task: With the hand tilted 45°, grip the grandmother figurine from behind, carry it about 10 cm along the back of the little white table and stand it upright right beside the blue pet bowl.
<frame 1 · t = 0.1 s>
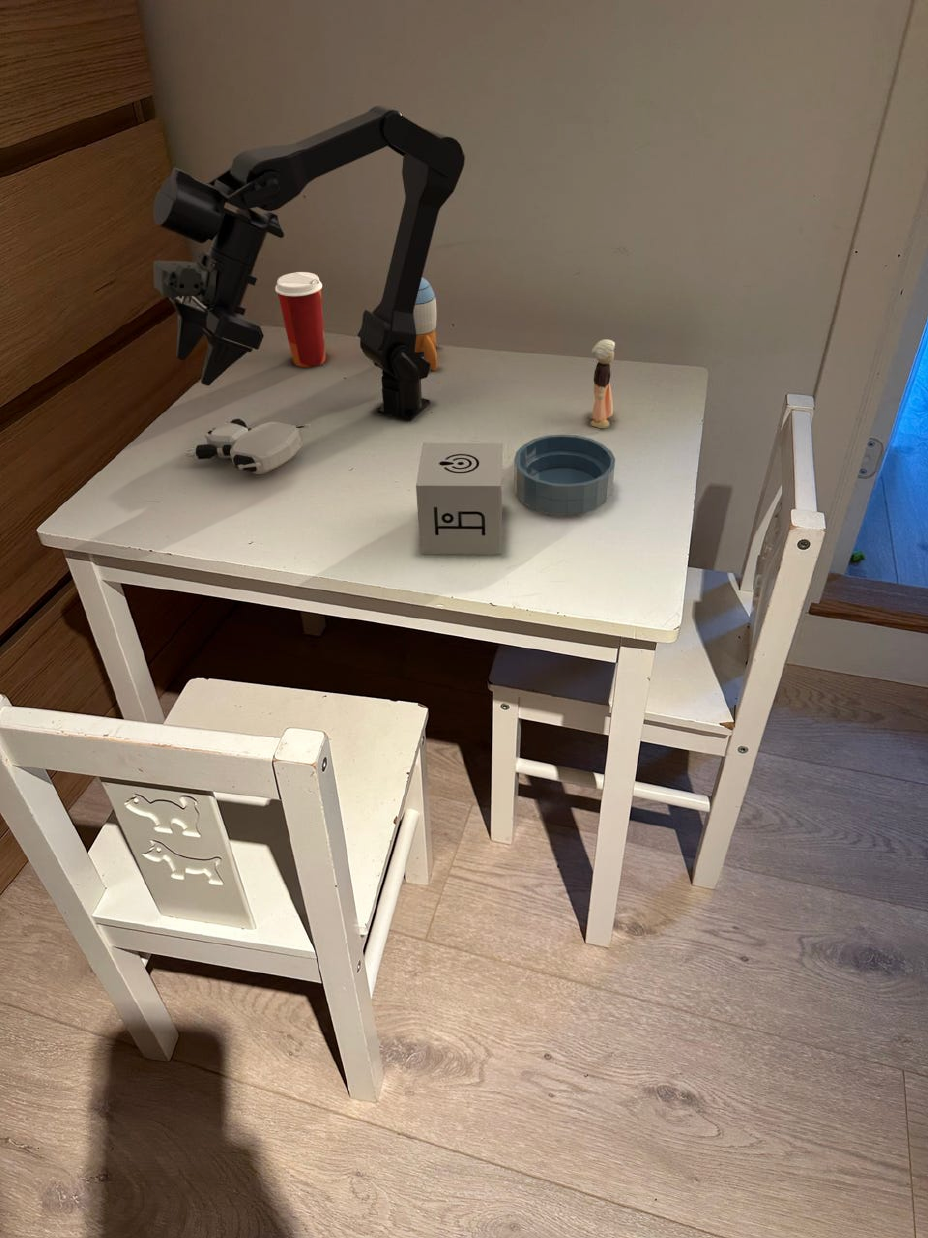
hand: (192, 371, 118), 15 cm above the table, tool tilted 35°, fingers open, 9 cm apart
icon cube: (462, 532, 115), on the table
grandmother figurine: (599, 420, 136), on the table
robot toy: (251, 460, 130), on the table
paper cup: (309, 361, 154), on the table
blue pet bowl: (562, 491, 121), on the table
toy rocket: (411, 360, 154), on the table
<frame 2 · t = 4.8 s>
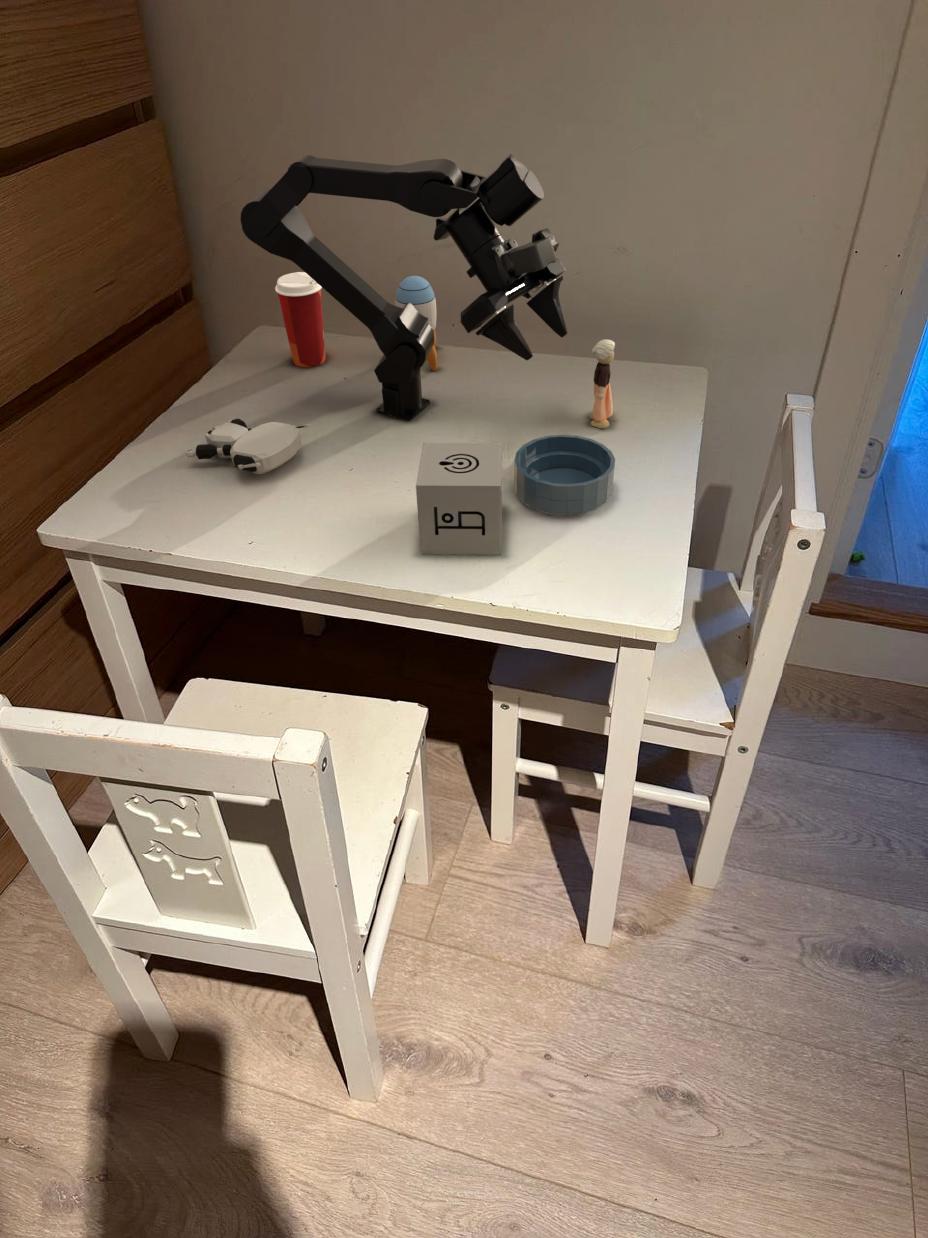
hand: (547, 346, 123), 14 cm above the table, tool tilted 45°, fingers open, 9 cm apart
nothing on the table moved.
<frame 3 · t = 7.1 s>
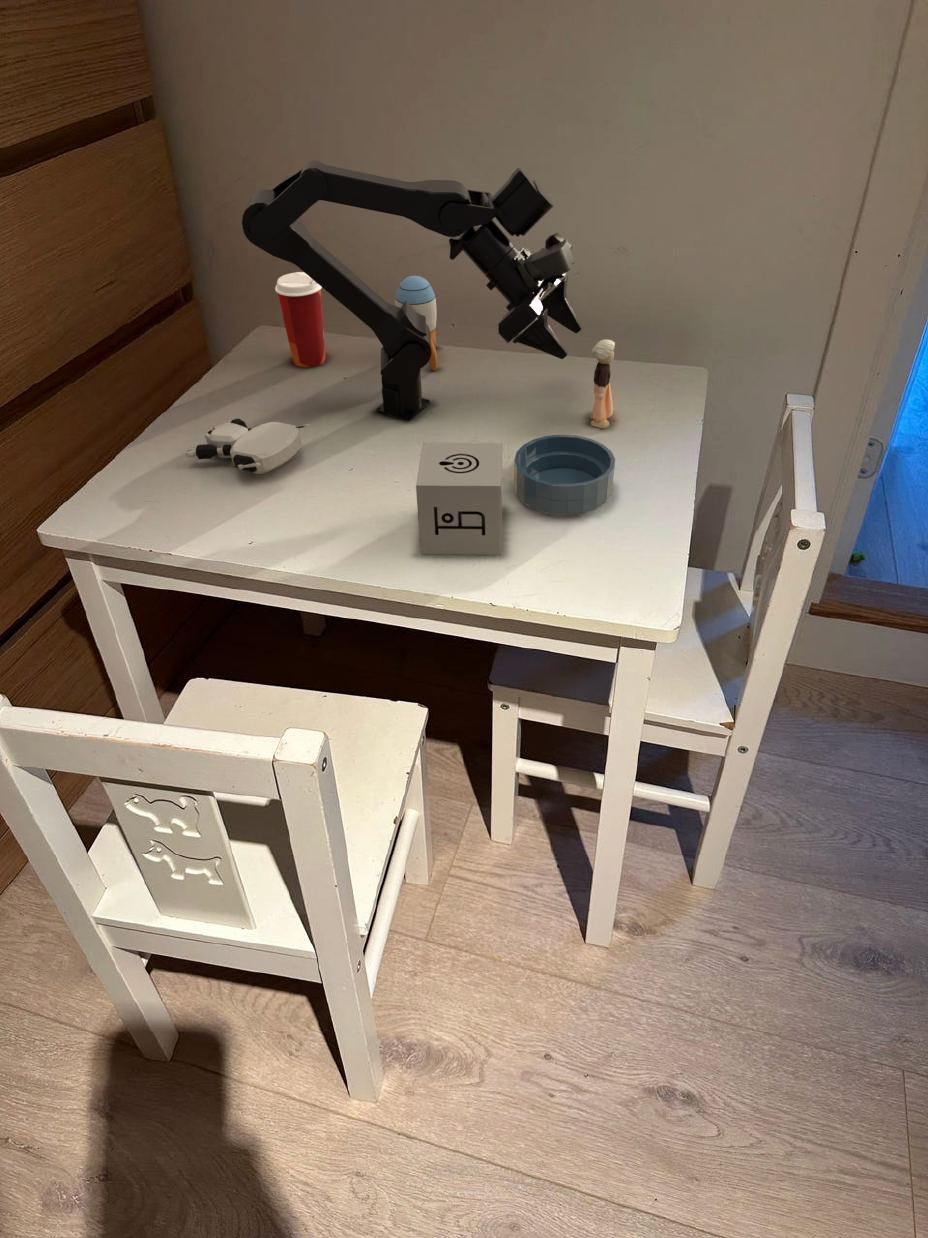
hand: (572, 343, 130), 11 cm above the table, tool tilted 45°, fingers open, 9 cm apart
nothing on the table moved.
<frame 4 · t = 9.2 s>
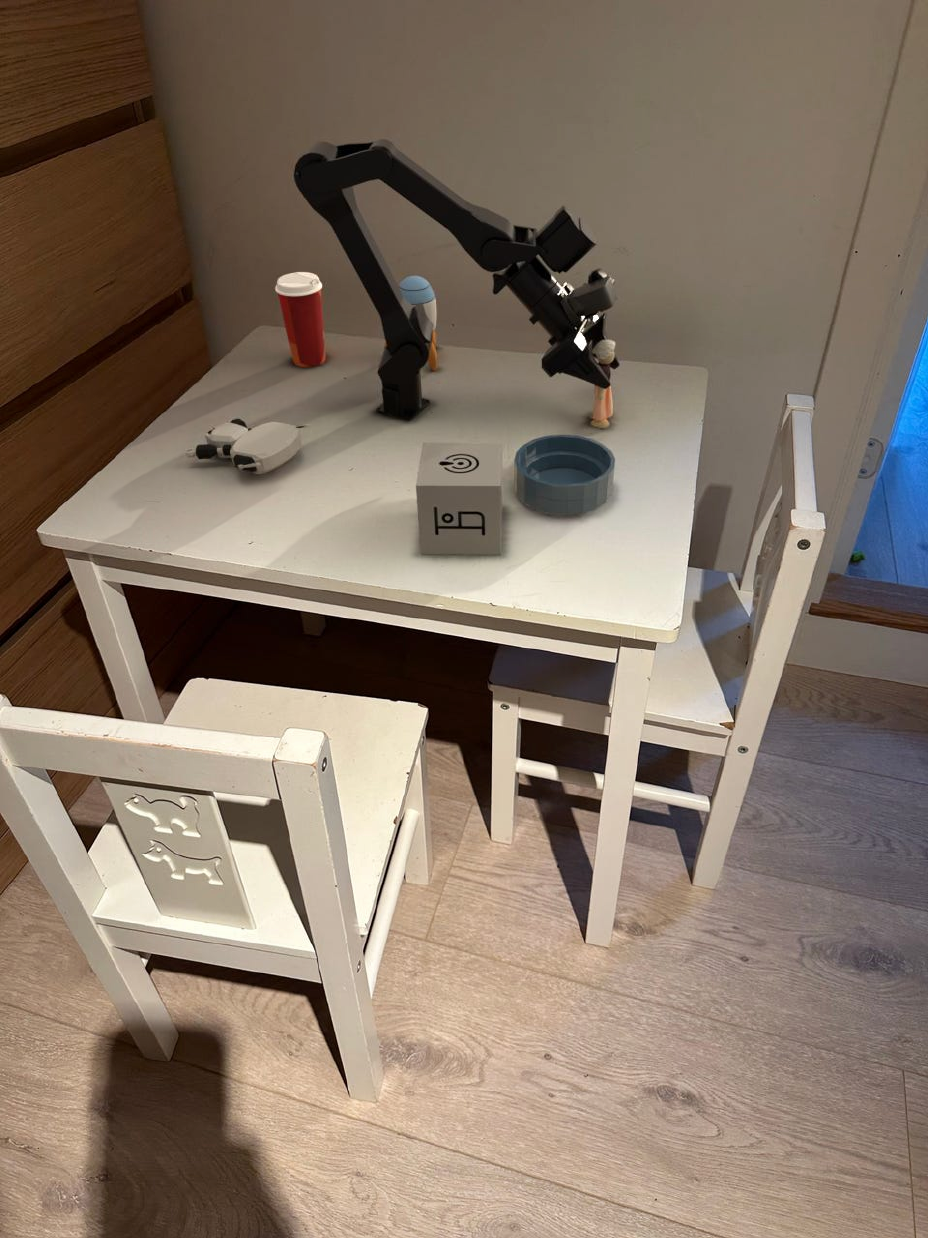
hand: (612, 376, 131), 7 cm above the table, tool tilted 45°, fingers closed on grandmother figurine, 6 cm apart
grandmother figurine: (599, 420, 136), on the table, touching gripper
everything else where it was.
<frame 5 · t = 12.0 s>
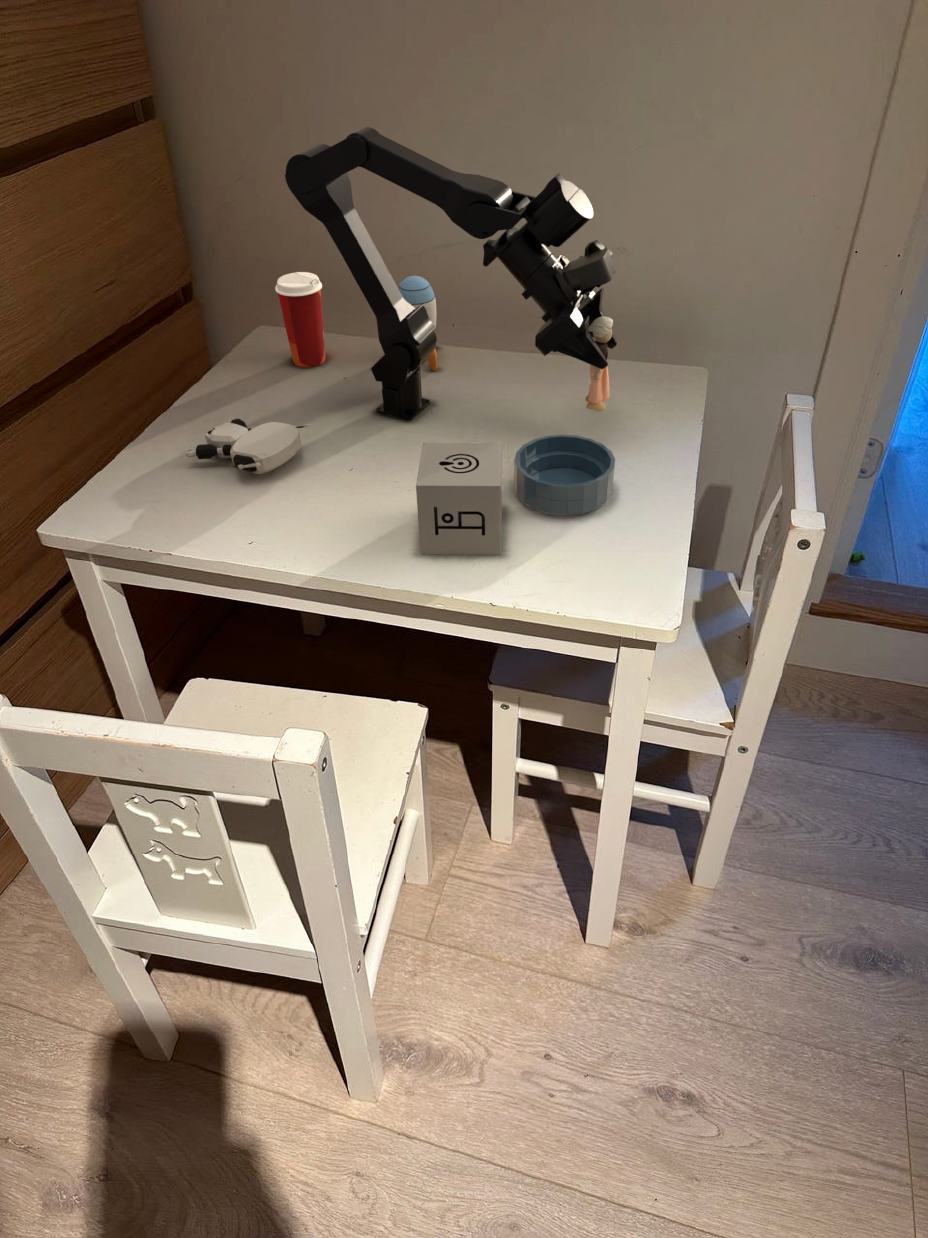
hand: (610, 356, 123), 13 cm above the table, tool tilted 45°, fingers closed on grandmother figurine, 6 cm apart
grandmother figurine: (595, 403, 129), point 5 cm above the table, touching gripper
everything else where it was.
when the fingers open (7 cm above the table, at t = 14.8 s): grandmother figurine stays where it is, on the table.
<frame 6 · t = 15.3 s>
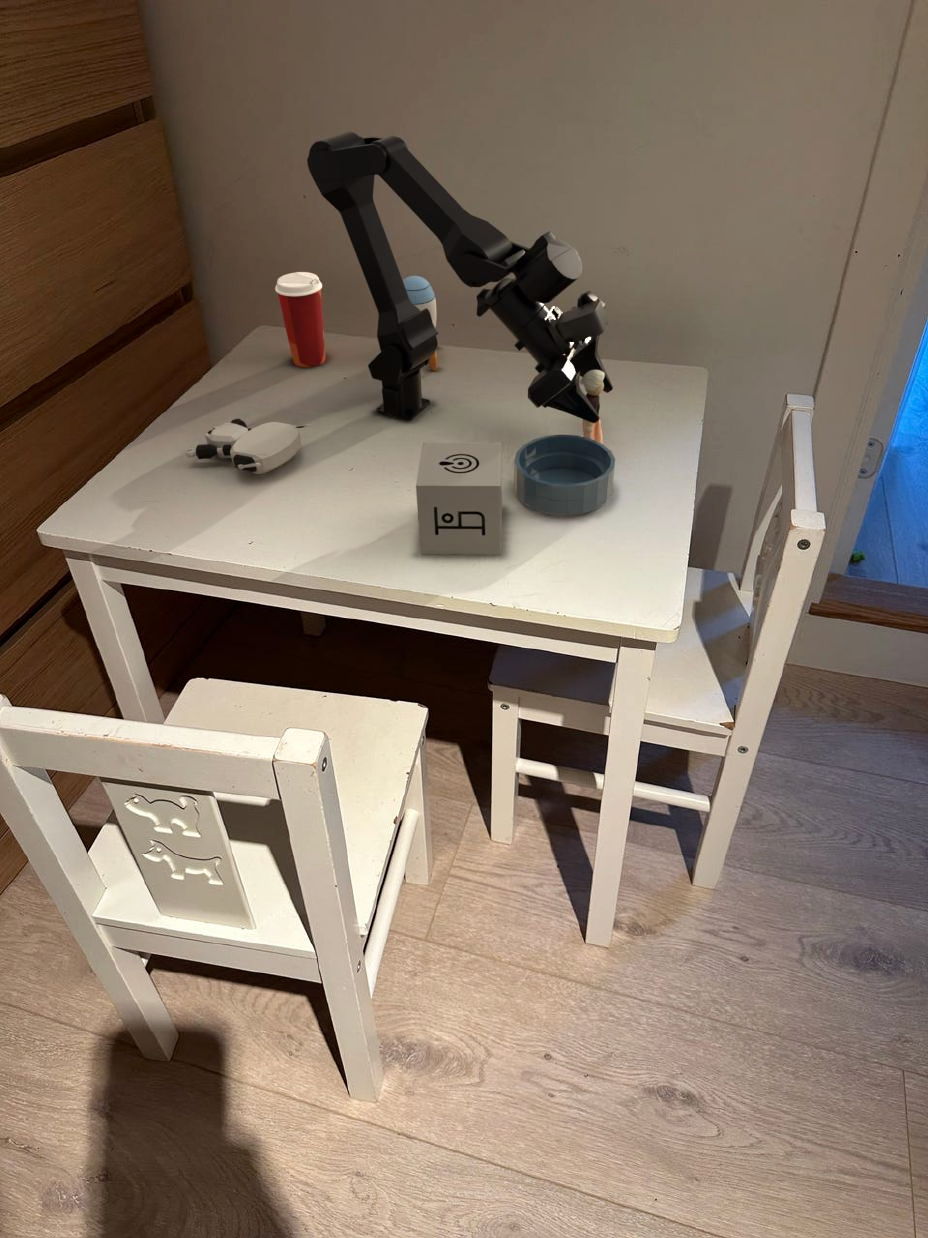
hand: (604, 405, 123), 8 cm above the table, tool tilted 45°, fingers open, 9 cm apart
grandmother figurine: (588, 453, 129), on the table
everything else where it was.
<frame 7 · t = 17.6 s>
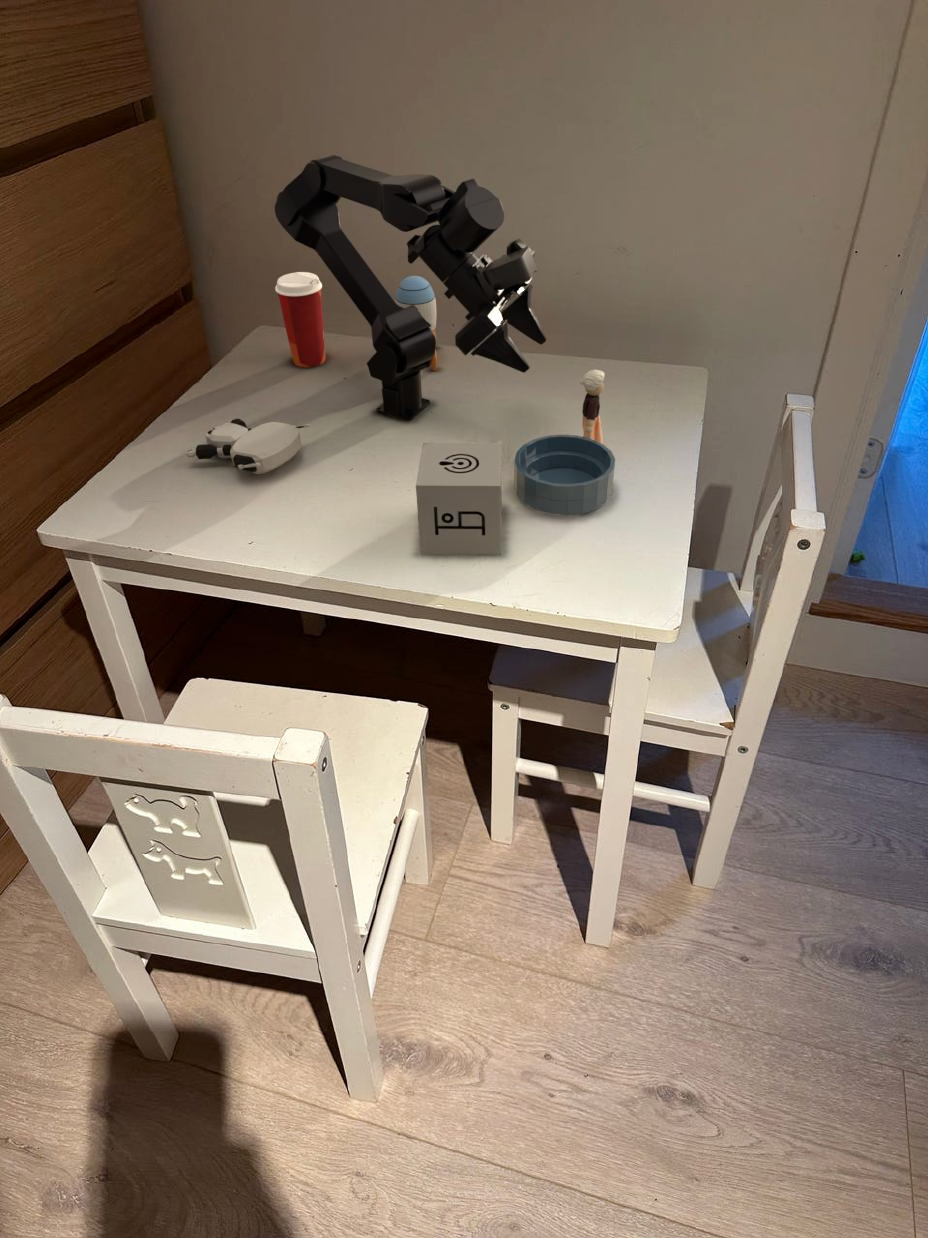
hand: (535, 355, 123), 13 cm above the table, tool tilted 45°, fingers open, 9 cm apart
nothing on the table moved.
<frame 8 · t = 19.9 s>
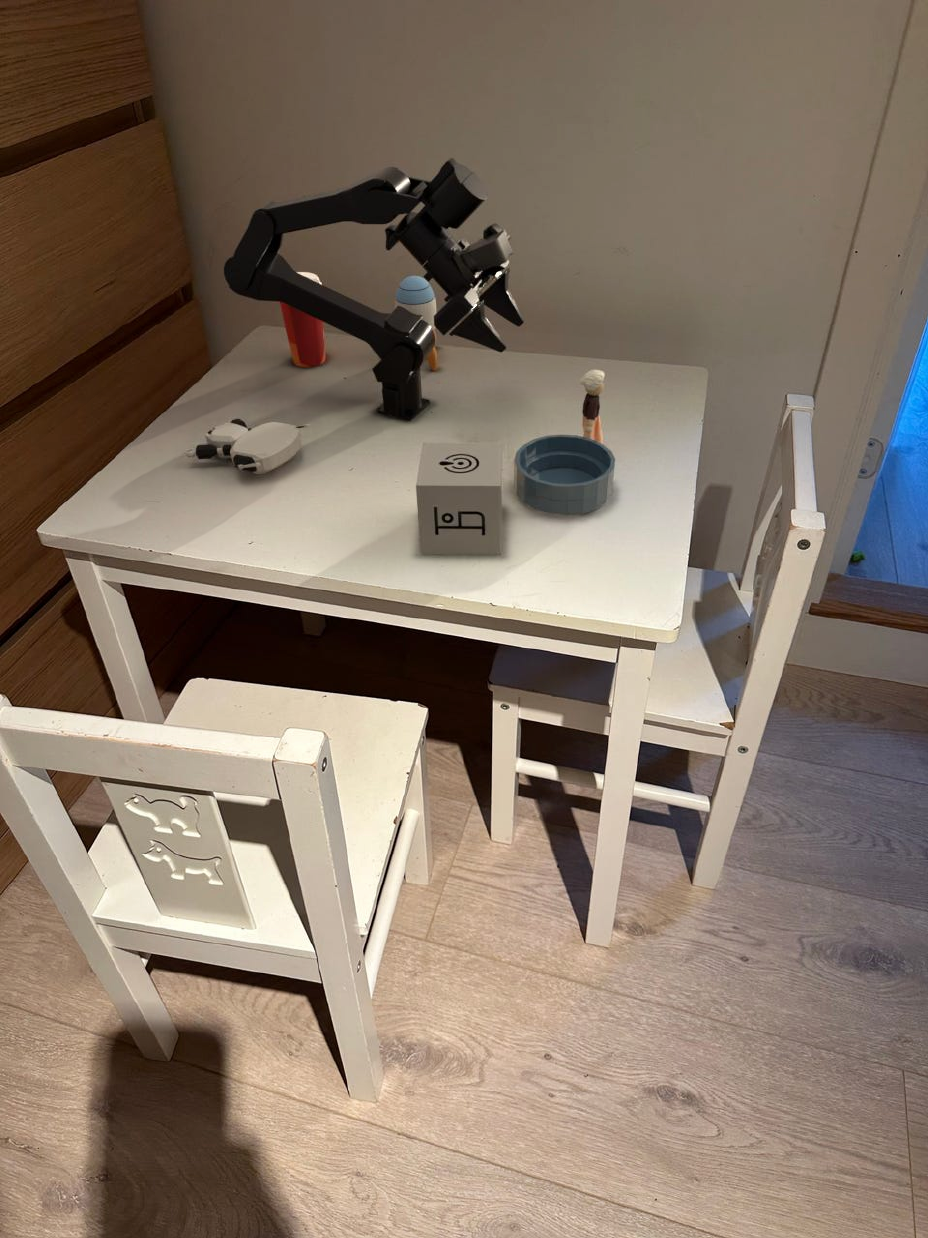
hand: (513, 336, 127), 14 cm above the table, tool tilted 45°, fingers open, 9 cm apart
nothing on the table moved.
at the end: grandmother figurine 11.2 cm from the blue pet bowl (horizontally); grandmother figurine tilted 0°; the gripper is holding nothing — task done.
